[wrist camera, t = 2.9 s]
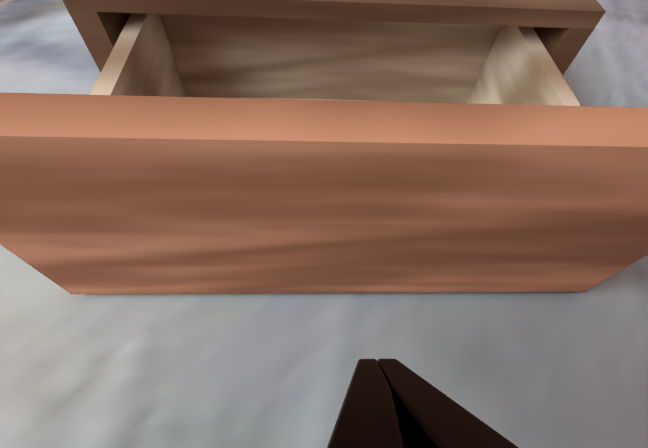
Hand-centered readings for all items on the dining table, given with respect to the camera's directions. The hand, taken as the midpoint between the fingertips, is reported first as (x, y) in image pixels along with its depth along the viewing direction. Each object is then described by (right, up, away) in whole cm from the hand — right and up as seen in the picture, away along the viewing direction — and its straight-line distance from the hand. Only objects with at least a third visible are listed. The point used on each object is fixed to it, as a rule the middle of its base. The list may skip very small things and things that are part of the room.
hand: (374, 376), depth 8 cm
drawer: (-1, +6, +13) cm, 15 cm away
